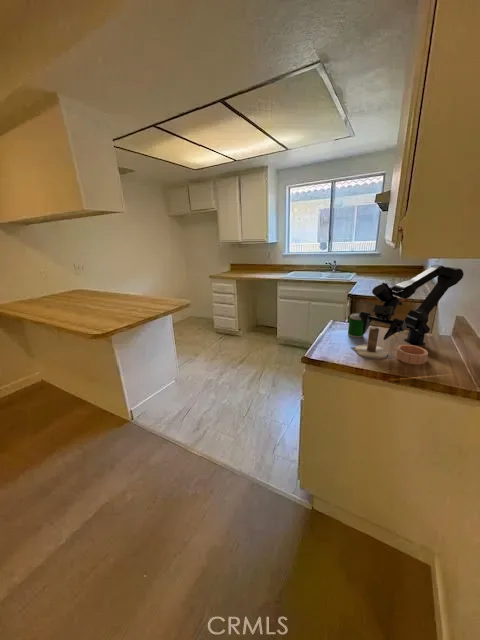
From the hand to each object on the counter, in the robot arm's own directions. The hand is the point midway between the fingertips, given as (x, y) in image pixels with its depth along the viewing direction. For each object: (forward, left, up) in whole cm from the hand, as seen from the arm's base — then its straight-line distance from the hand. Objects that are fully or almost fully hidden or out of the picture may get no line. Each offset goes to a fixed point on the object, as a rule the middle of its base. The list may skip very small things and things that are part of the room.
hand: (373, 336), depth 117 cm
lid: (0, 0, -7) cm, 8 cm away
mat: (0, 0, -8) cm, 8 cm away
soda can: (-20, +4, -8) cm, 22 cm away
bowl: (+8, +13, -8) cm, 17 cm away
